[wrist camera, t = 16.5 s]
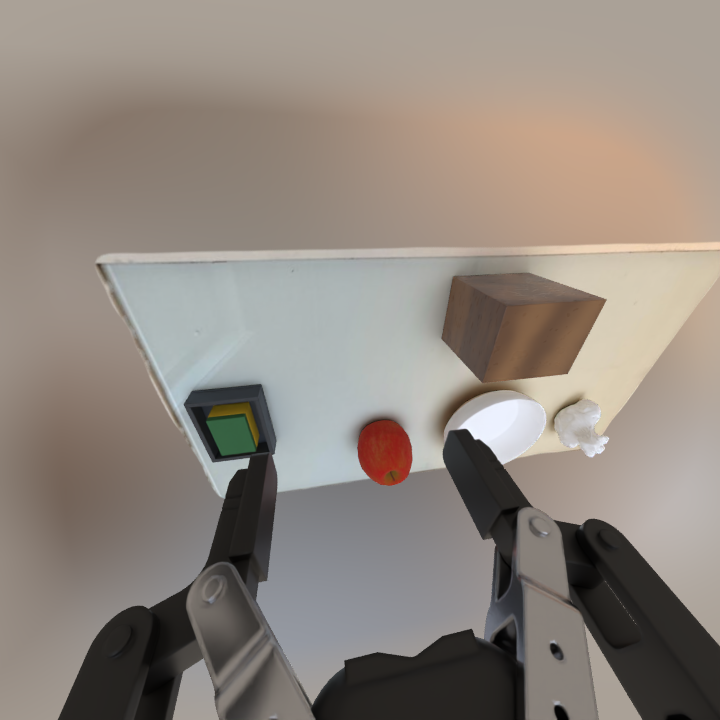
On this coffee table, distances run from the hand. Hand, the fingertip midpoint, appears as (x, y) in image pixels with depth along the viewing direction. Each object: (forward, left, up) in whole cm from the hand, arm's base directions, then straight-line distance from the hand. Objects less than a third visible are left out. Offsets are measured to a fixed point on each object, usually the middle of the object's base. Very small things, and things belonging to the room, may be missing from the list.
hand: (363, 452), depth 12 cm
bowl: (+41, 0, -27) cm, 49 cm away
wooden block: (+20, +13, -27) cm, 36 cm away
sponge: (+4, -28, -27) cm, 39 cm away
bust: (+58, +13, -27) cm, 66 cm away
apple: (+27, -16, -27) cm, 42 cm away
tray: (+4, -28, -27) cm, 39 cm away
